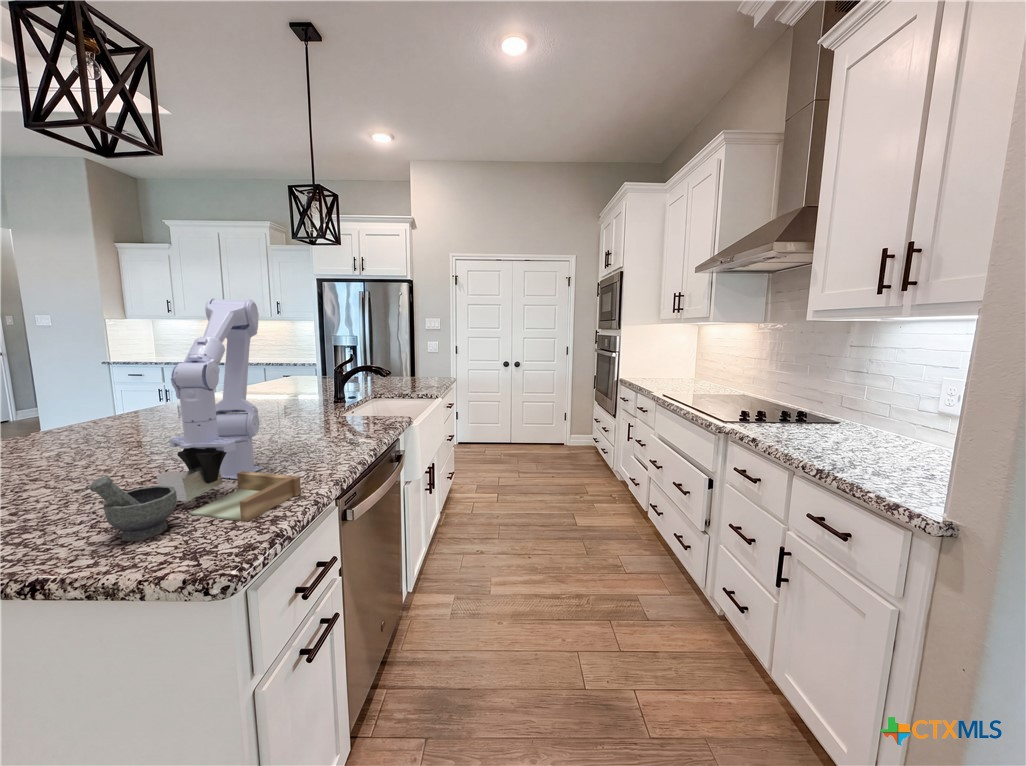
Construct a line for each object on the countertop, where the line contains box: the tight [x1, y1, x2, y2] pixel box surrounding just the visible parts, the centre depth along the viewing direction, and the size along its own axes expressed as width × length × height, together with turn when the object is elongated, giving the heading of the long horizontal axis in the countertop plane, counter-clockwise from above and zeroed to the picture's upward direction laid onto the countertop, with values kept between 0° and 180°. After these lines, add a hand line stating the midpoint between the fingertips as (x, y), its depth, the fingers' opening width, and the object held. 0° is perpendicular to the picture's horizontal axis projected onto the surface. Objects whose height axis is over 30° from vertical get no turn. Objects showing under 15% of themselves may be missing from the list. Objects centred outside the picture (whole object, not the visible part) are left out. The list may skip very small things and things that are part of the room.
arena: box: [188, 471, 302, 523], centre depth 84 cm, size 15×14×4 cm
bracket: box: [156, 465, 223, 502], centre depth 85 cm, size 8×6×5 cm
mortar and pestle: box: [88, 476, 178, 542], centre depth 71 cm, size 11×9×12 cm
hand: (206, 481), depth 86 cm, fingers closed on bracket, 2 cm apart
